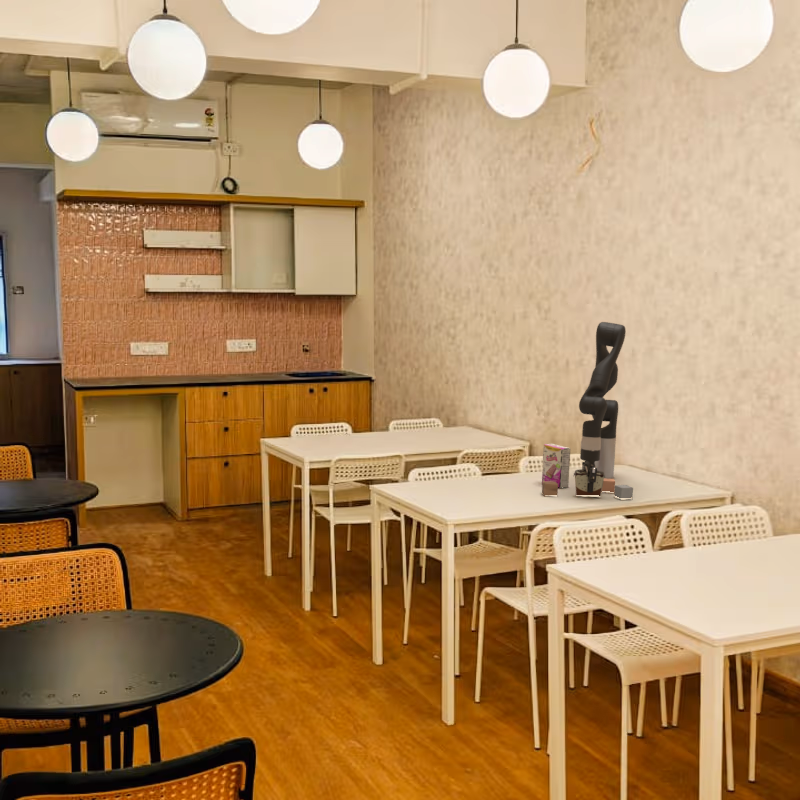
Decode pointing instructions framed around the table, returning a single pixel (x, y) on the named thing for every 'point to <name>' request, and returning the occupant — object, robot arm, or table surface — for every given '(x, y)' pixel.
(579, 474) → the food container
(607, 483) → the terracotta block
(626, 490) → the slate grey block
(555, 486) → the walnut block
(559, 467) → the candy bar box
